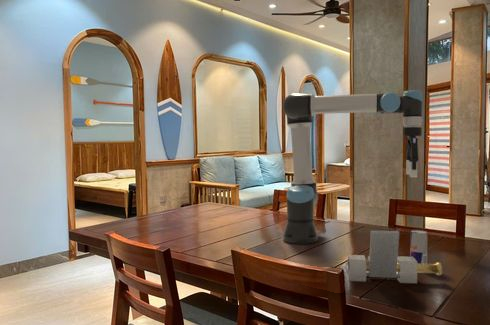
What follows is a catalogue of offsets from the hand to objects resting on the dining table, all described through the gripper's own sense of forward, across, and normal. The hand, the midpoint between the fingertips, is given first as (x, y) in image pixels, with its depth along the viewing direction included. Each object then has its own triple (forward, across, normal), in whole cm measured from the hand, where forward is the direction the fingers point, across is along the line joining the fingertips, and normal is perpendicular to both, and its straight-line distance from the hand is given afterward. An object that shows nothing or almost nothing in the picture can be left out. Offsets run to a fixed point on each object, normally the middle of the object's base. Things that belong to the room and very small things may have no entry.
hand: (411, 176), depth 176 cm
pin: (+25, -56, +9) cm, 62 cm away
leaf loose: (+19, -60, +15) cm, 65 cm away
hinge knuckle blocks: (+28, -53, +16) cm, 62 cm away
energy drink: (+28, -40, +2) cm, 48 cm away
